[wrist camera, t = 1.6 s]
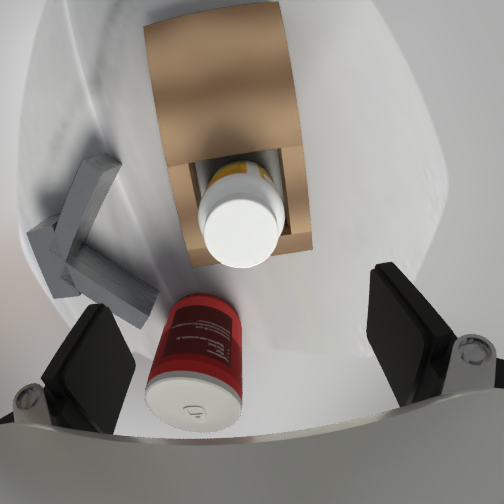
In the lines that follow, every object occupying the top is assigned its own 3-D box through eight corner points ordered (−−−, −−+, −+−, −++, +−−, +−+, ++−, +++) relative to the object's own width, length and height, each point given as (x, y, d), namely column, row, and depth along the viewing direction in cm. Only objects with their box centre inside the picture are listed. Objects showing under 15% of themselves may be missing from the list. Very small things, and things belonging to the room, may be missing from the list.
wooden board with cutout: (152, 34, 18) (143, 26, 16) (275, 12, 18) (278, 1, 15) (195, 254, 27) (191, 267, 24) (306, 237, 26) (312, 249, 24)
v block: (118, 148, 22) (98, 155, 19) (163, 303, 29) (154, 328, 25) (37, 177, 23) (12, 188, 19) (86, 311, 29) (71, 333, 26)
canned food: (195, 358, 32) (183, 439, 22) (153, 308, 29) (122, 390, 19) (255, 335, 31) (260, 422, 21) (216, 278, 28) (205, 365, 18)
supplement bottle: (201, 211, 25) (179, 265, 16) (219, 151, 23) (204, 171, 14) (262, 229, 26) (271, 290, 17) (283, 171, 24) (307, 204, 15)
